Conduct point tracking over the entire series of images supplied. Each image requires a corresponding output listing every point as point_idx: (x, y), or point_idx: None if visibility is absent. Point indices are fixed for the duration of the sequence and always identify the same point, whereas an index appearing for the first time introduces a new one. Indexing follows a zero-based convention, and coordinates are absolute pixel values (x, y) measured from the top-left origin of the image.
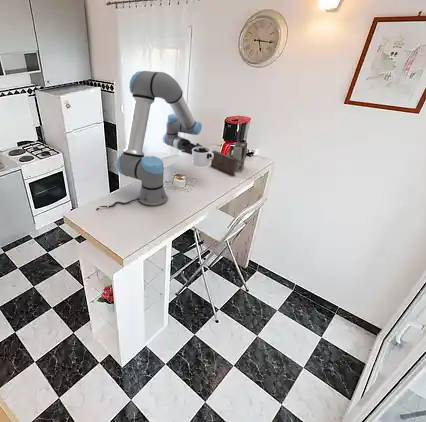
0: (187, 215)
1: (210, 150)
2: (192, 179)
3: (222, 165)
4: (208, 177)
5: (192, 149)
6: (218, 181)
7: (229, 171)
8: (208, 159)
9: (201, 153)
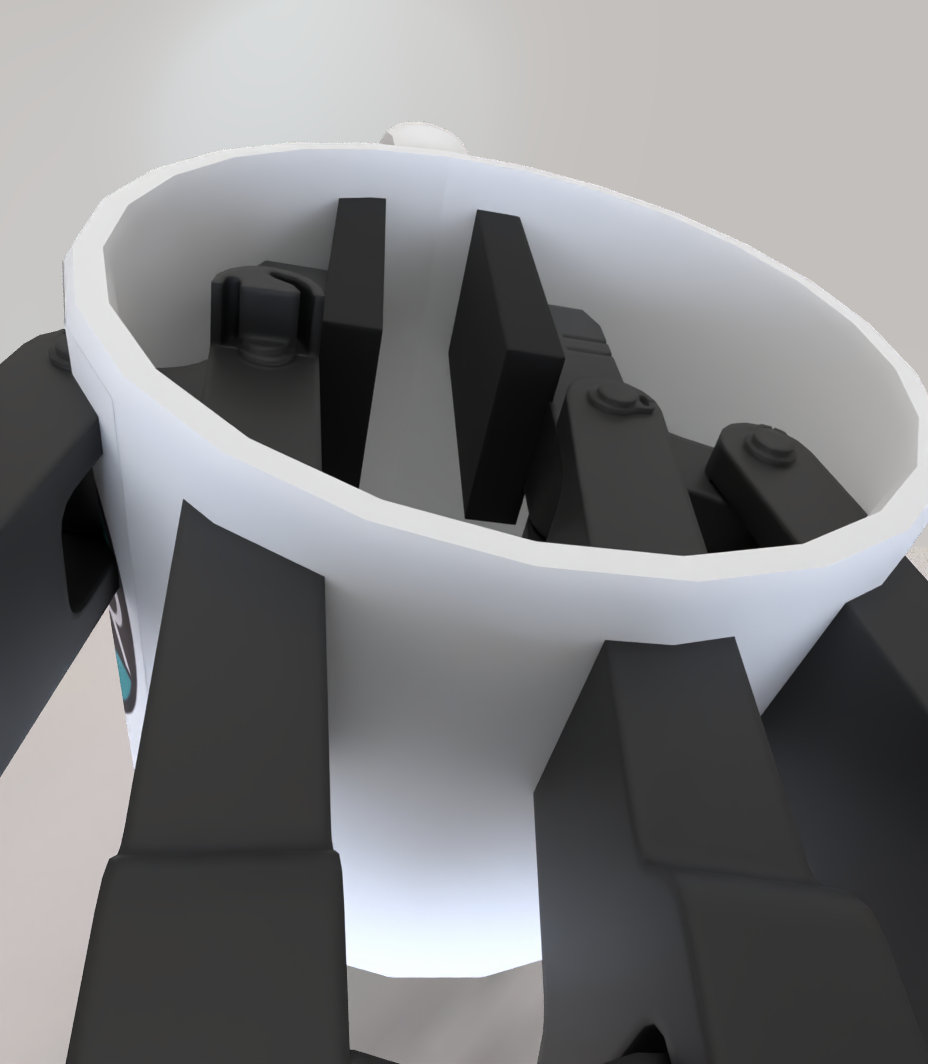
0: (925, 548)
1: (321, 143)
2: None
3: None
4: (26, 985)
5: (910, 505)
6: (75, 742)
7: None
8: (391, 392)
9: (710, 238)
